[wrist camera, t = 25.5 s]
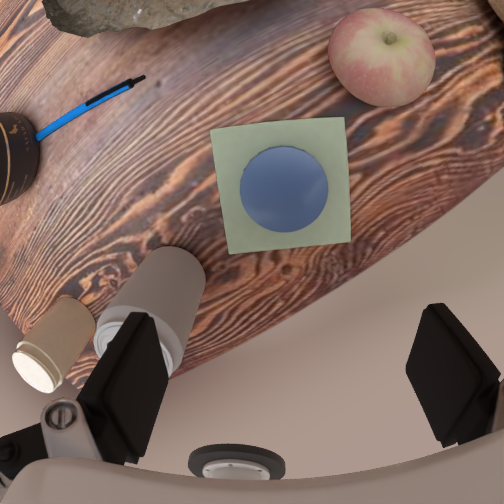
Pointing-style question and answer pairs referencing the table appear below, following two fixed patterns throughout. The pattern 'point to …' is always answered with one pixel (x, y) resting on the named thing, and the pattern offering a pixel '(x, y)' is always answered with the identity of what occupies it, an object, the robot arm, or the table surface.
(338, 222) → the coaster
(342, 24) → the apple
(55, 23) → the stone bowl
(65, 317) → the jam jar
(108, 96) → the pen
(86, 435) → the robot arm
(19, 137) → the jar
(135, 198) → the table surface
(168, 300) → the beverage can
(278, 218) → the jar lid
